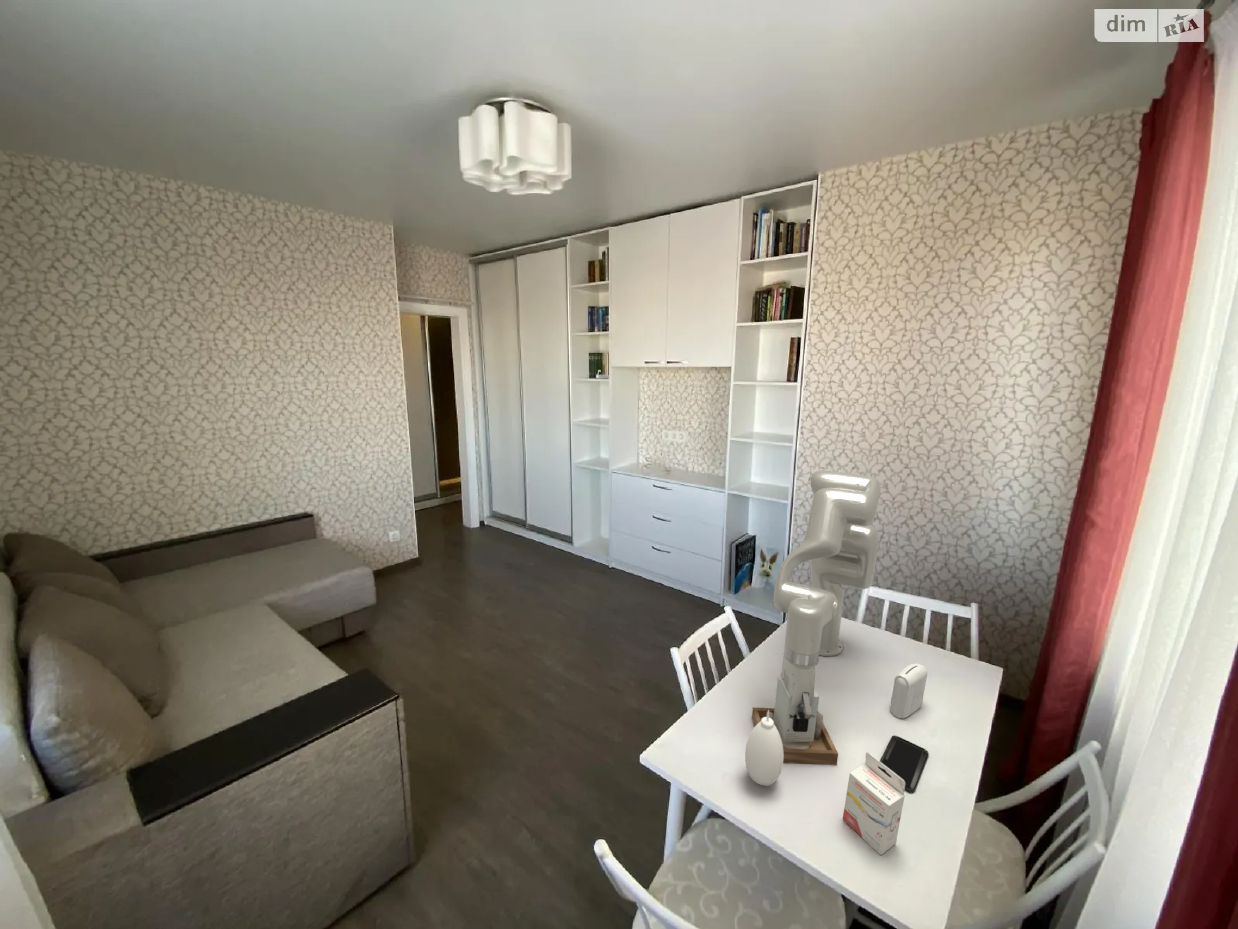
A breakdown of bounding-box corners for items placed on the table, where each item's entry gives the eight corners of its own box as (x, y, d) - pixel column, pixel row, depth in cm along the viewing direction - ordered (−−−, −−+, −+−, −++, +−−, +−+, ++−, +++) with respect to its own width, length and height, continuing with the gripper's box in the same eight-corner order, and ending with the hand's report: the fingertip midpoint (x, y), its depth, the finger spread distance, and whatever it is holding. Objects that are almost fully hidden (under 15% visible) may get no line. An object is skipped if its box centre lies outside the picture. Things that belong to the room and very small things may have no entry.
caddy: (751, 717, 128) (753, 693, 126) (815, 719, 127) (818, 695, 126) (765, 762, 114) (767, 736, 113) (836, 764, 114) (840, 738, 112)
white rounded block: (907, 697, 136) (914, 656, 133) (924, 706, 133) (931, 665, 130) (886, 711, 130) (893, 670, 128) (903, 722, 127) (910, 679, 124)
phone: (929, 751, 117) (913, 792, 106) (928, 755, 117) (912, 796, 106) (892, 733, 122) (873, 771, 111) (891, 737, 122) (873, 775, 112)
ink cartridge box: (841, 820, 101) (849, 758, 97) (856, 809, 103) (865, 749, 100) (881, 857, 93) (892, 792, 90) (897, 844, 96) (908, 781, 92)
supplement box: (783, 743, 117) (787, 697, 114) (772, 720, 124) (776, 675, 121) (814, 743, 117) (820, 696, 114) (802, 719, 124) (807, 675, 121)
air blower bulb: (750, 760, 115) (756, 692, 110) (785, 776, 111) (792, 706, 106) (738, 784, 108) (743, 713, 104) (774, 803, 104) (782, 729, 100)
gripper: (774, 630, 124) (769, 692, 128) (796, 676, 107) (789, 746, 111) (805, 631, 124) (798, 693, 128) (832, 677, 107) (823, 747, 111)
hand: (794, 717), depth 120 cm, fingers closed on supplement box, 7 cm apart
